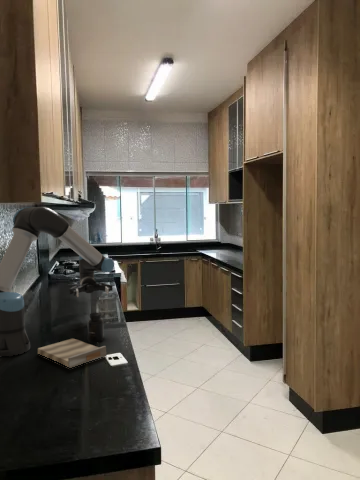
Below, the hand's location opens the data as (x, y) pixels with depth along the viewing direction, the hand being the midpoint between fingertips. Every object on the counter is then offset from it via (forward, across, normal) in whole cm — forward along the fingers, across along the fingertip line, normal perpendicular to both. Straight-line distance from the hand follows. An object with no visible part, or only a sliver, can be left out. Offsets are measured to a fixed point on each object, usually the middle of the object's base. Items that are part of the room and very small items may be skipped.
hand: (92, 292), depth 177 cm
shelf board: (+25, +12, -19) cm, 33 cm away
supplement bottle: (+10, 0, -20) cm, 22 cm away
